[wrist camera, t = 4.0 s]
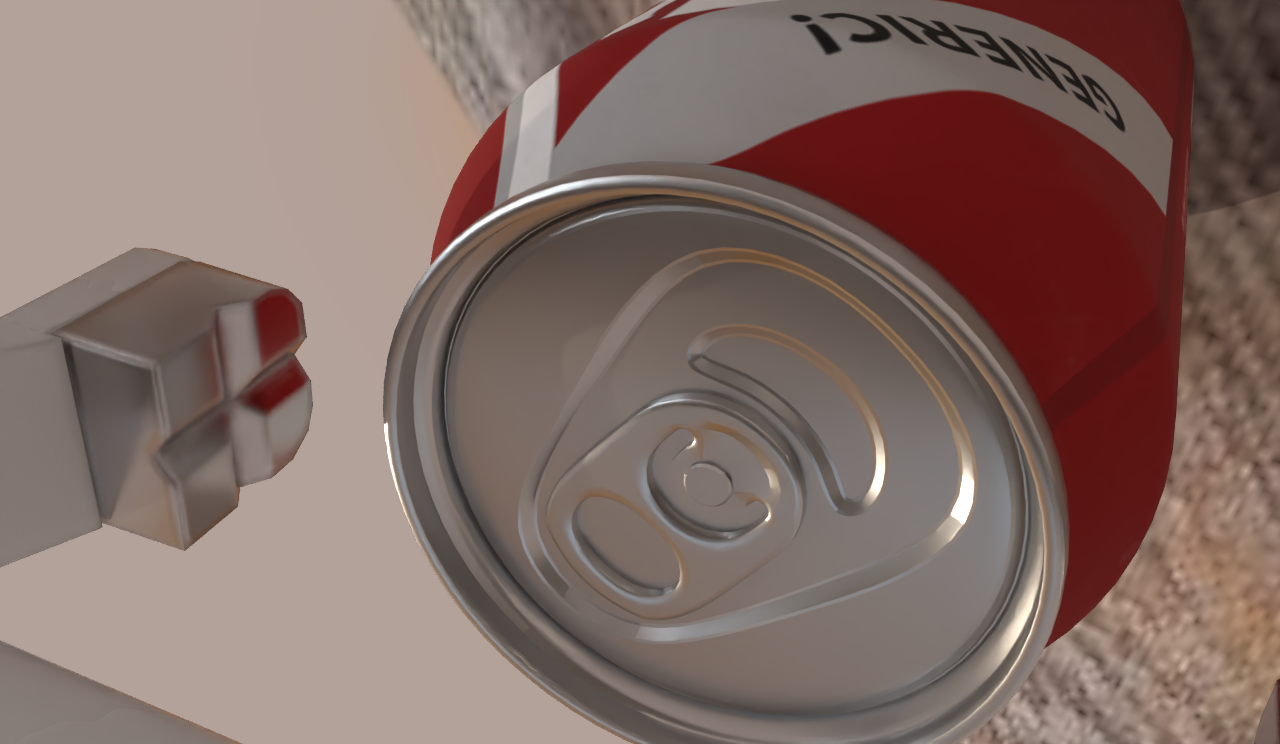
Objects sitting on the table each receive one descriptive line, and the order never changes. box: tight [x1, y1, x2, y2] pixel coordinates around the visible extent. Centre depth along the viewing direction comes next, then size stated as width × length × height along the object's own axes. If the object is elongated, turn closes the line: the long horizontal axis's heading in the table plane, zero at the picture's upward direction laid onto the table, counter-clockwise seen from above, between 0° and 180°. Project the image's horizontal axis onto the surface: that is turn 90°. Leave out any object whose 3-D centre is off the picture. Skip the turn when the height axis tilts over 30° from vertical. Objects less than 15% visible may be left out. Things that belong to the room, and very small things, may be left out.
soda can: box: [383, 0, 1194, 744], centre depth 14 cm, size 7×7×12 cm
